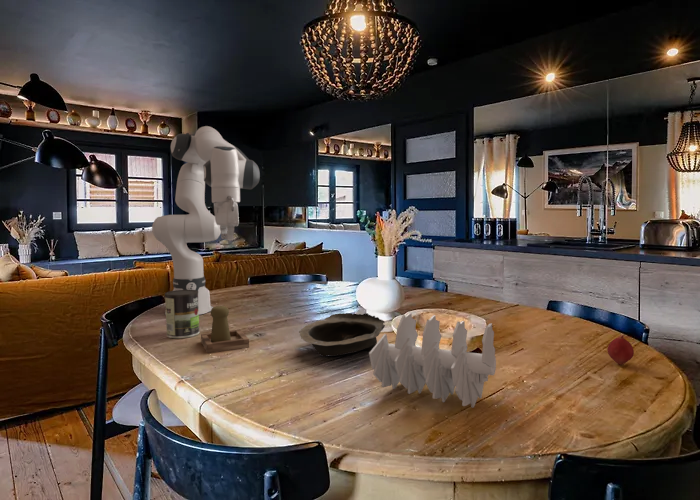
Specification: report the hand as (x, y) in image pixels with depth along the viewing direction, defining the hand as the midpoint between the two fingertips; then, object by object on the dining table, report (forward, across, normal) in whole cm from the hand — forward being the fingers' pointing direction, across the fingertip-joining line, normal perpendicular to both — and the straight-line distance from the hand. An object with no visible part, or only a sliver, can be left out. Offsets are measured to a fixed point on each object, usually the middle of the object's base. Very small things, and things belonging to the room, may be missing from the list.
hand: (227, 239), depth 145 cm
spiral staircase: (+32, -71, -30) cm, 83 cm away
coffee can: (+31, +6, +14) cm, 35 cm away
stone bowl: (+32, -34, -25) cm, 53 cm away
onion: (+32, -77, -85) cm, 119 cm away
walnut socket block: (+31, -12, +4) cm, 34 cm away
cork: (+30, -12, +5) cm, 33 cm away
